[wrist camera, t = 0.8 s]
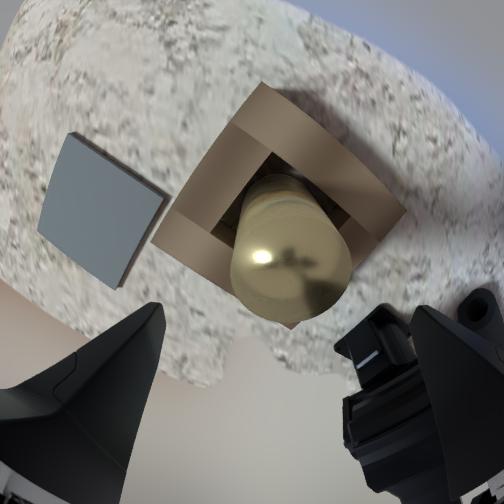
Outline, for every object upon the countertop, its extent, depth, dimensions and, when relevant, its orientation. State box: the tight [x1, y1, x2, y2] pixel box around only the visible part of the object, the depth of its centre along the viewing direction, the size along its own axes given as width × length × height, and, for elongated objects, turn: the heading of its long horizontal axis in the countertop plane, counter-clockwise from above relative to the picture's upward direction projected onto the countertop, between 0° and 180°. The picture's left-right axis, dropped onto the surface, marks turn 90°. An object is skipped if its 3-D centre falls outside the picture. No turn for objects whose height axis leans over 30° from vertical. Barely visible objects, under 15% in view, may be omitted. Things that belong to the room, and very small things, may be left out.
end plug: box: [230, 174, 352, 323], centre depth 15 cm, size 5×5×9 cm
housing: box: [150, 81, 407, 330], centre depth 18 cm, size 12×12×3 cm
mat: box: [37, 133, 166, 290], centre depth 19 cm, size 10×10×1 cm
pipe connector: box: [458, 288, 504, 351], centre depth 23 cm, size 12×5×15 cm
